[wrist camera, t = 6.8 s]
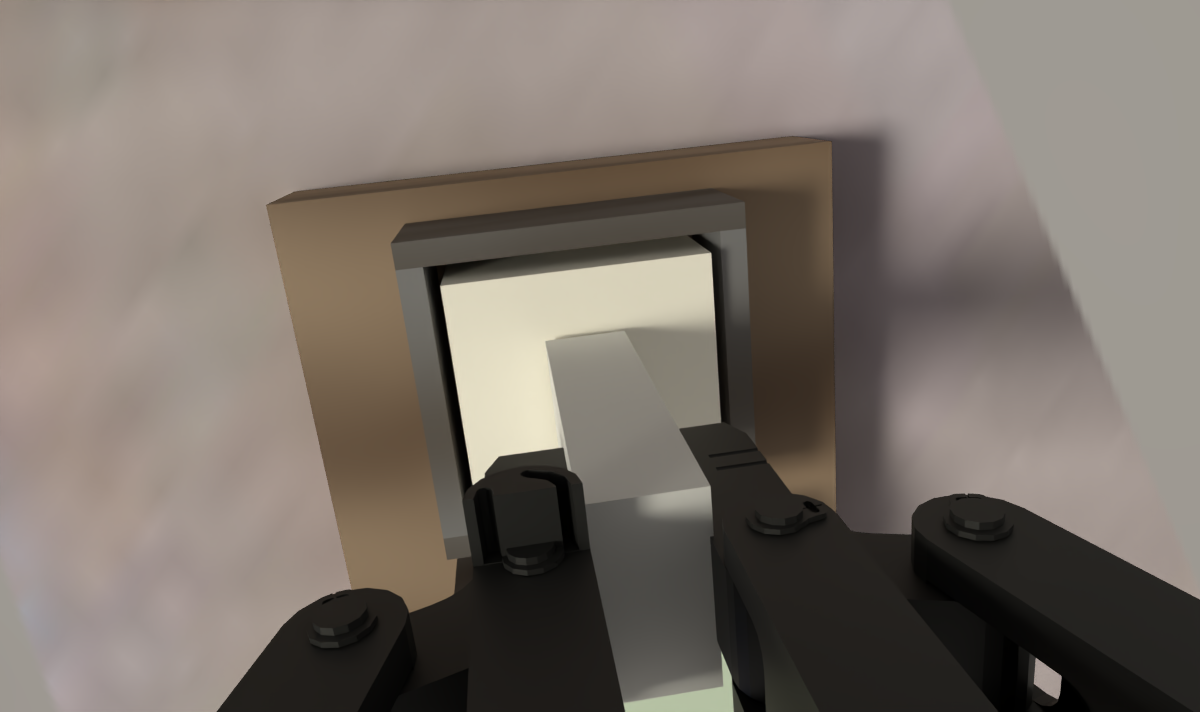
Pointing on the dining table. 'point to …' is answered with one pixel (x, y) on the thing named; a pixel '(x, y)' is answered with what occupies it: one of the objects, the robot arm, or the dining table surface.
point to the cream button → (576, 334)
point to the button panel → (528, 226)
